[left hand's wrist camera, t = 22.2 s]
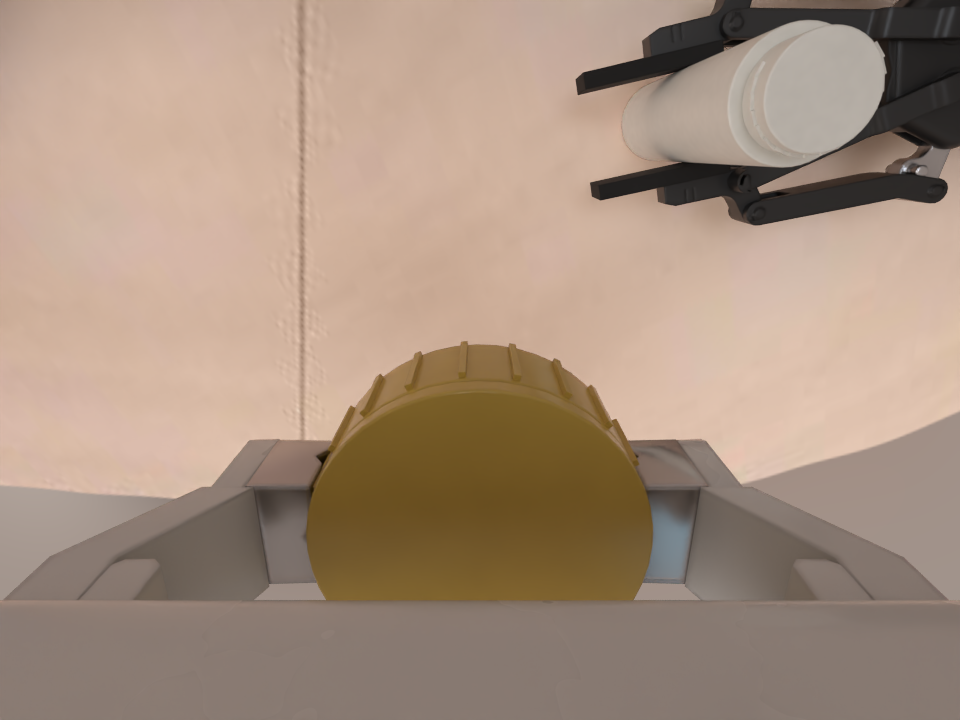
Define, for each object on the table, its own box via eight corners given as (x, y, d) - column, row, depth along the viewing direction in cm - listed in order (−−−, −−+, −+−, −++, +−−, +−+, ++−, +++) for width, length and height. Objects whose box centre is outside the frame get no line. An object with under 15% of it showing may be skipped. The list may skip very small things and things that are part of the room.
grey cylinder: (646, 175, 35) (791, 198, 18) (607, 115, 34) (722, 77, 17) (708, 128, 34) (925, 105, 17) (670, 64, 33) (862, -31, 16)
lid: (414, 281, 9) (396, 313, 7) (685, 425, 10) (733, 489, 8) (288, 524, 10) (247, 603, 8) (531, 629, 11) (541, 722, 9)
